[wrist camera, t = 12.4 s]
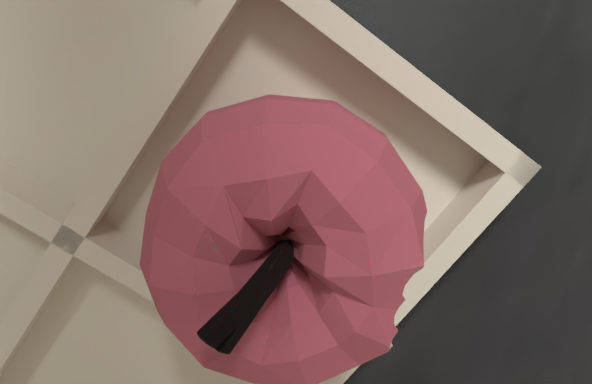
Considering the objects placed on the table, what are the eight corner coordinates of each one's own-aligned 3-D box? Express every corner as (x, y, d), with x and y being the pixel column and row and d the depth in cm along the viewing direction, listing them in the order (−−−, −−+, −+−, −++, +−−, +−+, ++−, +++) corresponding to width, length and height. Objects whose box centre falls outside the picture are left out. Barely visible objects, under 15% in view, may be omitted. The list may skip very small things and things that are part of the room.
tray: (-304, 278, 24) (-370, 307, 21) (-81, -316, 17) (-142, -371, 14) (187, 518, 29) (178, 562, 27) (514, 150, 22) (541, 167, 20)
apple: (348, 306, 24) (379, 494, 14) (166, 258, 23) (70, 421, 13) (421, 108, 21) (521, 178, 11) (215, 47, 20) (136, 66, 11)
